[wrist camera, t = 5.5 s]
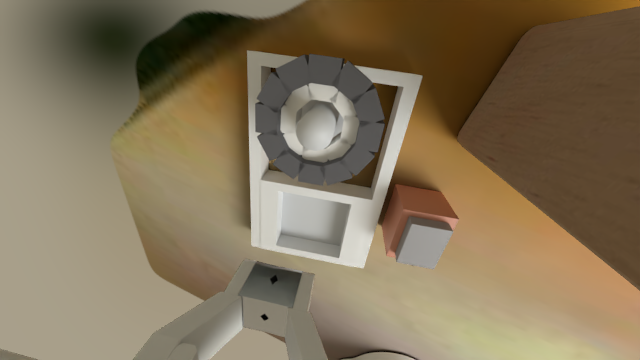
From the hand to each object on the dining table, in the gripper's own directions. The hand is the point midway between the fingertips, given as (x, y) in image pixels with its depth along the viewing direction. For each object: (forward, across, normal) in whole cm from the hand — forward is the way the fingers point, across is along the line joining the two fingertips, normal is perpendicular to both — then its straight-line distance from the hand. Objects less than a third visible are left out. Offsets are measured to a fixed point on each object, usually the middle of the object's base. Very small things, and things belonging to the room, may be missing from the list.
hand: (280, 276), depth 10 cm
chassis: (+17, +1, +3) cm, 17 cm away
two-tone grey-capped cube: (+17, -10, +6) cm, 21 cm away
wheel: (+12, 0, -4) cm, 13 cm away
